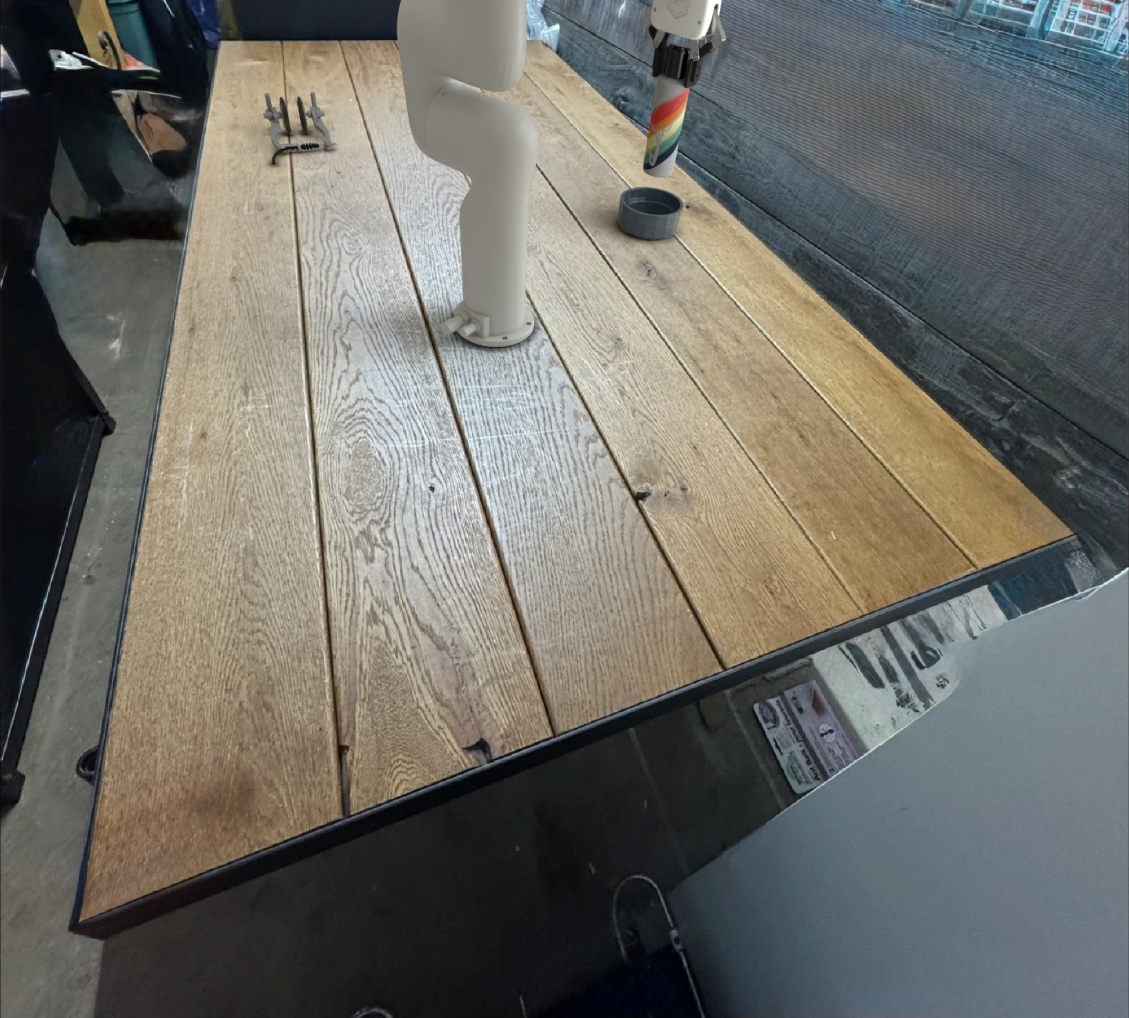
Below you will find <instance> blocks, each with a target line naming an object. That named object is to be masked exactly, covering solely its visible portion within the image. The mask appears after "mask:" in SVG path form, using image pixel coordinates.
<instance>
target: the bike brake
mask: <svg viewBox="0 0 1129 1018" xmlns="http://www.w3.org/2000/svg"><path fill="white" fill-rule="evenodd" d="M309 94H310V100H311V106H310V107H309V110H306V108H305V105H304V103H303V100H302V98H301V96H299V95H298V96H297V99H296V106H297V110H298V115H299V117H298V118H299V121H300V127H301V130H302V132H303V133H304V134H305V135H307V134H309V133H308V131H309V125H308V119H311V120H312V123H313V126H314V129H316V130H317V131H318V132H319V133H321V134H322V136H323V137H324V140H323V141H322V144H319V143H317V142H312V143H311V142H306V143H302V144H300V145H299V143H298V142H296V143H295V142H293V143H280V142H279V140H278V136H279V134H280V132H281V131H282V127H281V123H280V120H282V125H283V127H284V130H285V132H286V134H287V135H288V136H291V132H292V128H291V123H290V119H289V118H290V117H289V113H288V108H287V103H286V101H285V99H284V98H283V96H280V97H279V111H277V107H276V106H273V104H272V100H271V95H270V93H269V92H265V93H264V100H265V102H266V103H265V104H266V108H267V109H265V110H264V112H263V113H262V115H263V118H264V119H266V120H268V121H269V122H270V129H269V131H270V132H269V135H270V141H271V143H272V145H273V147H274V149H275V152H274V154H273V155H272V157H271V163H272V165H274V166H275V165H276V158H277V157H278V156H279V155H280V154H281V153H290V152H291V153H292V152H300V151H301V150H304V151H306V150H307V151H312V150H314V149H319V148H320V147H323V148H324V149H325V150H326V151H331V149H332V146H336V145H337V143H336V142H333V143H332V141H331V136H330V131H329V129H328V128H327V126H326V125H325V123H324V122H323V119H322V117H325V116H326V115H325V111H324V110H322V109H321V108H320V107H319V106H318V103H317V97H316V93H315V92H314V91H310V93H309Z"/></svg>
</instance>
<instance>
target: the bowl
mask: <svg viewBox="0 0 1129 1018" xmlns="http://www.w3.org/2000/svg"><path fill="white" fill-rule="evenodd" d="M617 209H618V210H617V218H616V223H617V225H618V226H619V228H621V229H622V230H623V231H624V232H626V233H627V234H629V235H631V236H633V237H636V238H639V239H642V240H643V239H644V240H653V241H656V240H657V241H658V240H663V239H667V238H670V237H673V236H674V235H676V234H677V233H678V231H679V229H680V226H681V221H682V216H683V211H684V202H683V200H682V199H681V198H680V197H679V196H678V195H676V194H675V193H673V192H670V191H668V190H666V189H661V188H658V187H652V186H635V187H631V188H628V189H626V190H624V191H623V192H622V193H621V194H620V195H619V202H618V208H617Z"/></svg>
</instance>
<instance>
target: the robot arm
mask: <svg viewBox="0 0 1129 1018" xmlns="http://www.w3.org/2000/svg"><path fill="white" fill-rule="evenodd" d="M527 1H528V0H400V3H399V7H398V14H397V18H396V19H397V20H396V21H397V23H396V37H397V46H398V56H399V63H400V69H401V77H402V84H403V91H404V97H405V104H406V111H407V117H408V123H409V128H410V132H411V135H412V138H413V141H414V143H415V145H416V146H417V148H418V149H419V150H420V151H421V153H423V154H424V155H425V157H428V158H429V159H431V160H433V161H435V162H437V163H439V164H441V165H443V166H445V167H448V168H450V169H452V170H455V171H457V172H459V173H460V174H463V175H465V176H467V177H468V178H469V179H470V186H469V187H470V188H469V189H468V191H467V193H466V194H465V196H464V197H463V199H462V201H461V204H460V206H459V207H460V208H459V213H458V214H459V215H458V217H459V219H458V220H459V221H458V222H459V236H460V237H459V239H460V260H461V281H462V284H461V285H462V286H461V287H462V301H460V302H459V303H458V305H457V309H456V310H455V312H454V315H453V317H451V318H449V319H447V320H445V321H443V322H441V323H440V330H441V332H442V333H443V334H444V335H445V336H449V335H451V334H453V333H455V332H457V333H458V334H459V336H460V337H462V338H463V339H465V340H467V341H468V342H470V343H472V344H475V345H478V346H483V347H489V348H503V347H509V346H514V345H517V344H518V343H521V342H523V341H525V340H526V339H528V338H529V336H531V334H532V333H533V331H534V328H535V318H534V314H533V312H532V311H531V310H530V309H529V308H528V306H527V305H526V293H527V292H526V291H527V290H526V289H527V268H528V267H527V264H528V242H529V241H528V240H529V238H528V237H529V236H528V235H529V215H530V214H529V211H530V200H531V192H532V186H533V180H534V175H535V172H536V166H537V162H538V158H539V154H540V153H539V152H540V135H539V131H538V128H537V125H536V124H535V121H533V119H532V117H531V116H530V115H529V114H528V113H527V112H526V111H525V110H523V109H522V108H520V107H519V106H517V105H515V104H513V103H511V102H509V101H507V100H504V99H502V98H499V97H496V96H493V95H491V94H488V93H486V92H483V91H479V90H476V89H473V88H471V87H474V88H477V89H480V90H484V91H488V92H494V93H497V92H498V93H504V92H507V91H510V90H512V89H514V88H515V87H516V86H517V85H518V83H520V81H521V79H522V77H523V75H524V71H525V67H526V60H527V48H528V47H527V46H528V45H527V43H528V35H527V34H528V33H527V32H528V30H527V29H528V24H527V22H528V20H527V18H528V17H527V15H528V12H527V9H528V8H527V7H528V6H527V4H528V2H527ZM721 7H722V0H652V4H651V5H650V6H649V8H647V10H646V11H645V12H644V13H642V14H643V15H642V19H643V21H644V23H645V25H646V27H647V29H648V33H649V35H650V38H651V40H652V47H653V48H654V53H653V59H652V66H651V67H652V72H651V77H653V78H658V76H659V75H660V74H663V73H664V67H665V62H666V56H667V50H668V44H669V41H670V38H671V36H672V35H675V36H678V37H682V38H684V39H688V40H690V47H691V58H690V60H688V63H687V68H686V74H685V79H684V84H683V86H684V88H692V87H695V86H696V85H697V82H699V79H700V74H701V71H702V64H703V60H704V59H705V58H707V56H709V55H710V54H711V53H712V52H714V50H715V49H717V48H718V47H719V46H721V45H723V44H724V43H725V42H726V40H727V35H726V32H725V30H724V26H723V24H722V21H721V18H720V14H721V13H720V12H721ZM710 36H712V38H711V39H710V40H709V41H708V40H707V39H708V38H707V37H710ZM464 84H466V85H468V86H471V87H468V86H465V85H464Z"/></svg>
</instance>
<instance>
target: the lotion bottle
mask: <svg viewBox="0 0 1129 1018" xmlns="http://www.w3.org/2000/svg"><path fill="white" fill-rule="evenodd" d="M667 46H668V50H667V56H666V62H665V67H664V73H663V74H660V75H659V76H658V77H656V84H655V89H654V95H653V101H652V108H651V114H650V120H649V124H648V125H649V126H648V131H647V137H646V146H645V150H644V156H643V162H642V163H643V164H642V171H643V173H644V174H646V175H648V176H651V177H654V178H659V179H660V178H668V177H670V176H672V174H673V172H674V168H675V163H676V159H677V155H678V150H679V149H678V148H679V144H680V139H681V134H682V129H683V124H684V119H685V114H686V108H687V104H688V99H689V93H690V88H691V87H690V88H684V86H683V84H684V79H685V74H686V68H687V63H688V60H690V59H691V56H692V49H691V46H686V45H682V44H678V43H675V42H670V43H668V44H667Z"/></svg>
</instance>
